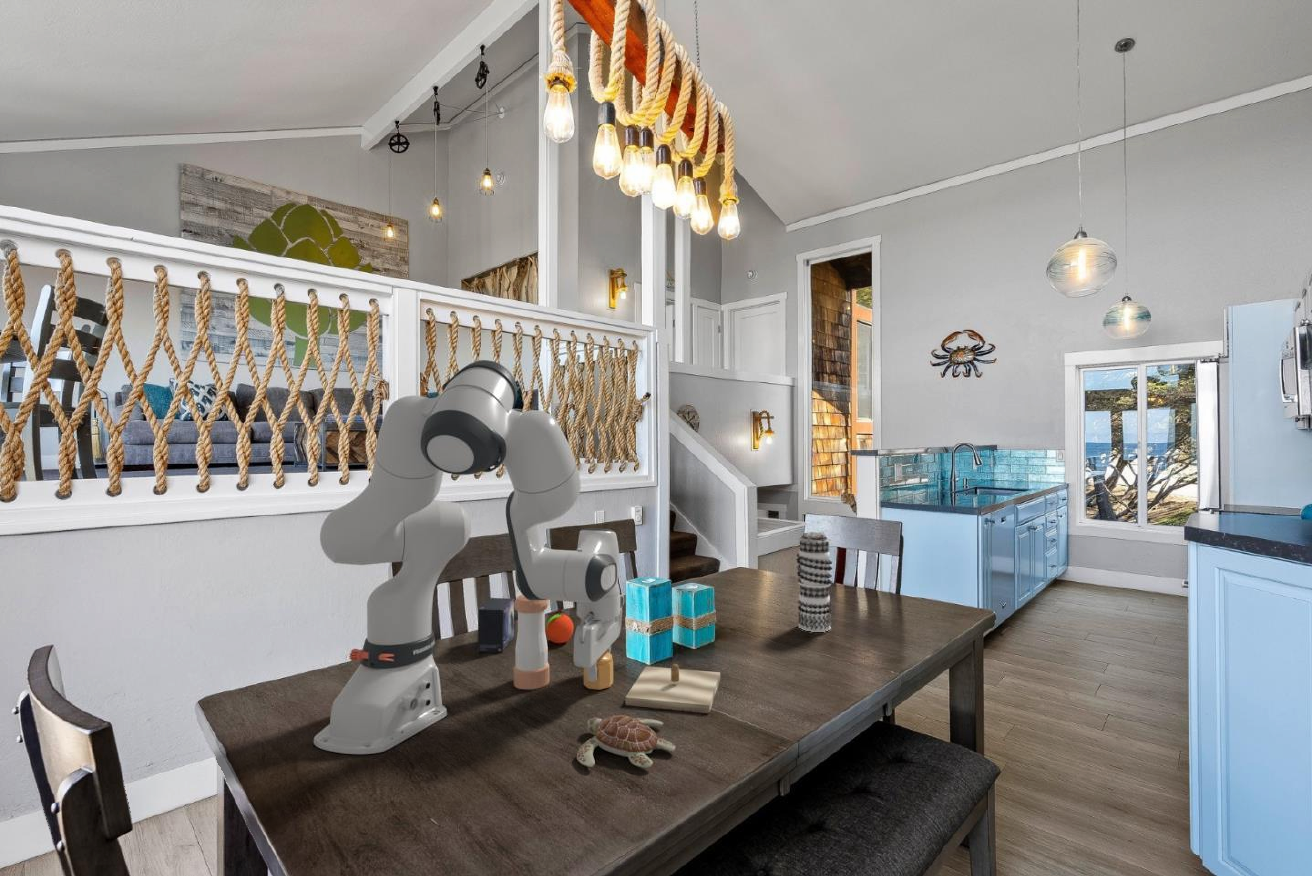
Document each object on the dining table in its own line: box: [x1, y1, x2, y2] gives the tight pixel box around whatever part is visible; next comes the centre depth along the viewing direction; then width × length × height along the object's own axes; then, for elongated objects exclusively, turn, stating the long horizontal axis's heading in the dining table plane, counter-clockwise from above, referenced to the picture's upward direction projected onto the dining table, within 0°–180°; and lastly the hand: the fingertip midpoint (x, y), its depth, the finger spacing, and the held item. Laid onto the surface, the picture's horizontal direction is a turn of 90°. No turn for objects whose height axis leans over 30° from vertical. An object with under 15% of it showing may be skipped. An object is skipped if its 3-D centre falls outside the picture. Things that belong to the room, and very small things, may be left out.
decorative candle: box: [796, 531, 833, 633], centre depth 162 cm, size 9×9×25 cm
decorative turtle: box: [576, 714, 676, 769], centre depth 100 cm, size 18×17×5 cm
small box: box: [477, 597, 515, 654], centre depth 149 cm, size 11×6×10 cm, turn 179°
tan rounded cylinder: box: [583, 652, 614, 691], centre depth 125 cm, size 6×6×6 cm
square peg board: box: [624, 663, 721, 714], centre depth 122 cm, size 16×16×6 cm
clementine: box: [545, 613, 575, 644], centre depth 151 cm, size 8×7×7 cm
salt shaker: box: [513, 593, 550, 690], centre depth 127 cm, size 7×7×19 cm
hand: (598, 673), depth 125 cm, fingers closed on tan rounded cylinder, 6 cm apart
